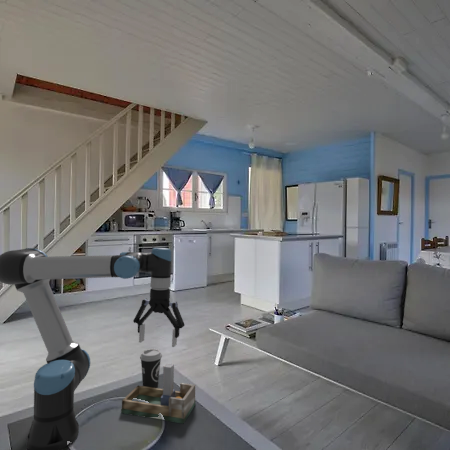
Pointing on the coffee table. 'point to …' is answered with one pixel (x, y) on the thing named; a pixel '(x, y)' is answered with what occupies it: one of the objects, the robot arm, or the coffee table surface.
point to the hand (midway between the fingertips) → (157, 343)
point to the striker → (168, 384)
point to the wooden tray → (172, 413)
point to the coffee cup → (150, 367)
